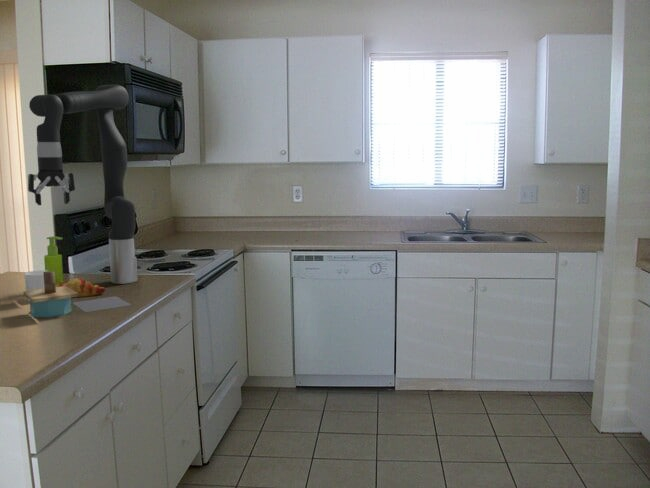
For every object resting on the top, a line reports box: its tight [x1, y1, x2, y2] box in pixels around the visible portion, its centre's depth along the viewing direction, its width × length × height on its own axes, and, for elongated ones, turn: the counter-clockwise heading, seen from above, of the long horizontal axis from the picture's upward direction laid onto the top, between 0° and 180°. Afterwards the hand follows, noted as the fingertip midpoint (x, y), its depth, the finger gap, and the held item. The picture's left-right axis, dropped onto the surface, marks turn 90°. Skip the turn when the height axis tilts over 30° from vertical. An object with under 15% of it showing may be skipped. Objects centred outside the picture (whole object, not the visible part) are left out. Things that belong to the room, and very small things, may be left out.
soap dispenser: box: [43, 236, 64, 285], centre depth 224 cm, size 6×7×20 cm
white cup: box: [23, 269, 47, 302], centre depth 209 cm, size 8×8×10 cm
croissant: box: [55, 277, 106, 298], centre depth 217 cm, size 21×10×8 cm, turn 90°
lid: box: [22, 271, 79, 303], centre depth 192 cm, size 13×13×8 cm
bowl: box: [29, 297, 73, 320], centre depth 193 cm, size 11×11×6 cm
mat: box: [71, 295, 132, 313], centre depth 204 cm, size 15×15×1 cm
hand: (52, 204), depth 207 cm, fingers open, 8 cm apart
